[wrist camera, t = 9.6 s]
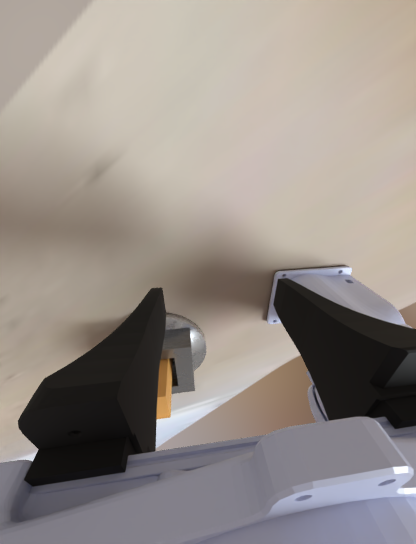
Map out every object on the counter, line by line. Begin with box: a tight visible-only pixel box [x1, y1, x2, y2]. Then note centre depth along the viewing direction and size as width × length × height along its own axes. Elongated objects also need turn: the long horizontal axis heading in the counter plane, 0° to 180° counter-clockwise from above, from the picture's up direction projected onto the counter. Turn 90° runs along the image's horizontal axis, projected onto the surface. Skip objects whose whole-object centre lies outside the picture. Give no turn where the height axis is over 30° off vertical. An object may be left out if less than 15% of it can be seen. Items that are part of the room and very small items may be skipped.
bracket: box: [161, 313, 206, 394], centre depth 26 cm, size 12×12×4 cm
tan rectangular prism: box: [156, 358, 173, 419], centre depth 23 cm, size 3×4×7 cm
